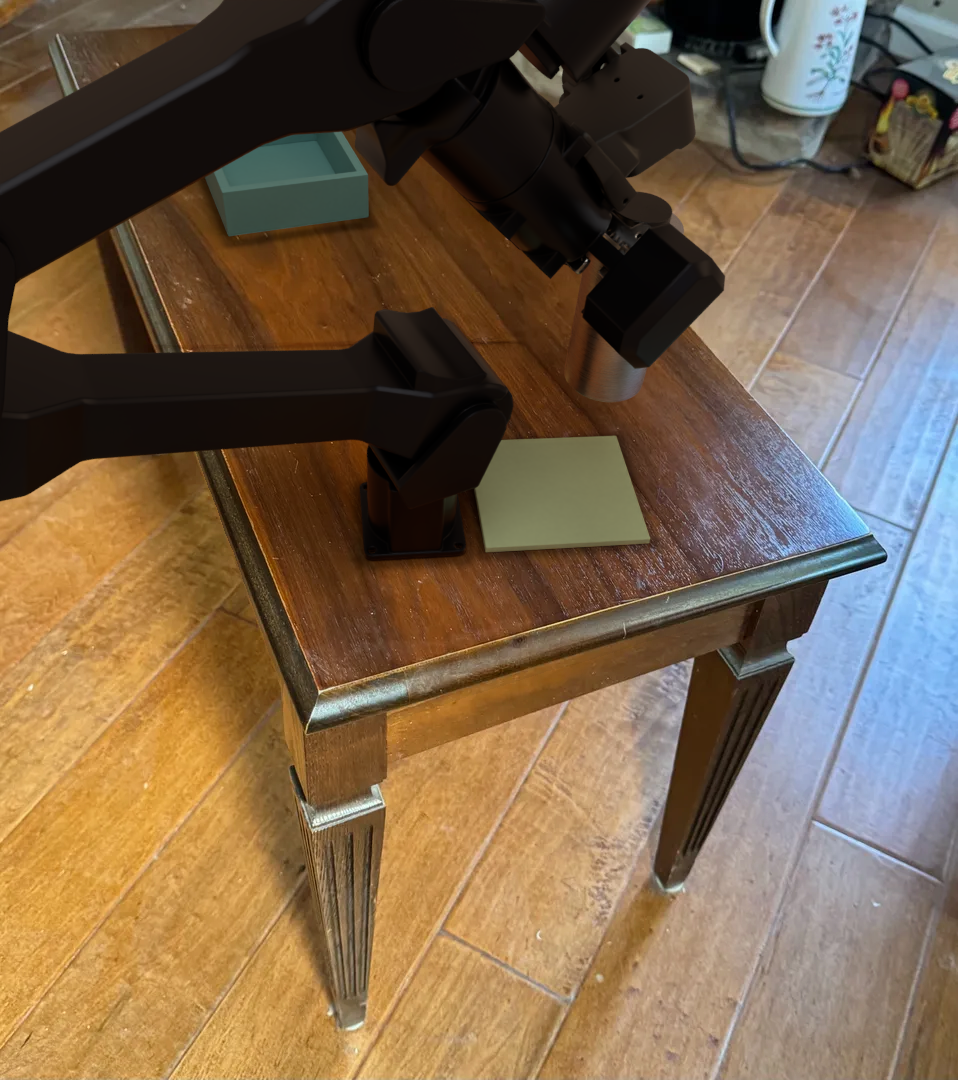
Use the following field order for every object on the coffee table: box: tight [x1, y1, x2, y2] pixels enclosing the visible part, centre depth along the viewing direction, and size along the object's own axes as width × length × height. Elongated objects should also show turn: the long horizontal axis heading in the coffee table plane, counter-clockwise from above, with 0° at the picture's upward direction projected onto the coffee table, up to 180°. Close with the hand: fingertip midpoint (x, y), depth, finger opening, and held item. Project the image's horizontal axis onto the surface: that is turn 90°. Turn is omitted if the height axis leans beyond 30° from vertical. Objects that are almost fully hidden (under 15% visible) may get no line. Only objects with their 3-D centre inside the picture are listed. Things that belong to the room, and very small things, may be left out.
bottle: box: [563, 191, 685, 403], centre depth 57 cm, size 5×5×12 cm
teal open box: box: [204, 132, 370, 237], centre depth 87 cm, size 16×13×5 cm
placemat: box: [473, 435, 651, 553], centre depth 65 cm, size 10×11×1 cm
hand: (639, 294), depth 58 cm, fingers closed on bottle, 5 cm apart
